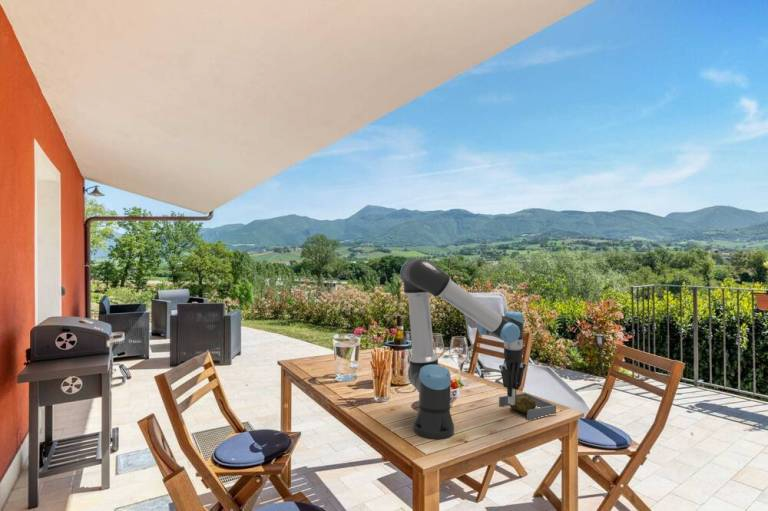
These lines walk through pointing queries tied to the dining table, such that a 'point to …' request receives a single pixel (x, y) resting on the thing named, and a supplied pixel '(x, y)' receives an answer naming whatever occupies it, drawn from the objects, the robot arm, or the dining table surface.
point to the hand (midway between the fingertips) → (511, 403)
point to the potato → (523, 404)
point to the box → (544, 409)
